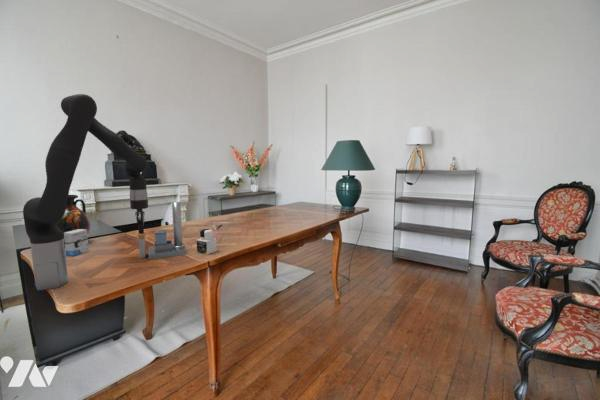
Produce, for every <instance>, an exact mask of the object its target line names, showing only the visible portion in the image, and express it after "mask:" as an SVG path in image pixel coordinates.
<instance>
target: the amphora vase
mask: <svg viewBox="0 0 600 400" xmlns="http://www.w3.org/2000/svg"><path fill="white" fill-rule="evenodd" d="M78 198H79V196H78V195H77V194H68V200H67V206H66V210H65V213H64V215H63V217H62V218H61V219H60V220H59V221H57V222H56V224H57V226H58V228H59V229H60V230H61V231H62V232H63V236H64V233H65V232H69V231H73V230H77V229H85V230H87V234H88V235H89V233H90V231H91V221H90V219H89V218H88V216H87V209H86V208H87V207H86V203H85V202H84V200H83V199H80V198H79V199H78ZM79 202H80V204H81V206H82V209H81V208H79V207H78V206H77V203H79ZM64 246H65V240H64Z"/></svg>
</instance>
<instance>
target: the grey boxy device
mask: <svg viewBox="0 0 600 400" xmlns="http://www.w3.org/2000/svg"><path fill="white" fill-rule="evenodd" d="M199 236H200V237H199V238H198V239H196V253H197V254H200V253H201V254H202V255H205V256H206V255H207V256H208V255H210V253H211V254H213V253H216V252H217V251H218V250H217V249H218V248H217V247H218V246H217V238H216V237H213V230H212V229H211V228H204V229H201V230H200V231H199Z"/></svg>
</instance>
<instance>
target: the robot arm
mask: <svg viewBox="0 0 600 400" xmlns="http://www.w3.org/2000/svg"><path fill="white" fill-rule="evenodd" d="M97 107H98V106H97V102H96V101H95V100H94V98H93V97H92V96H90V95H88V94H85V93H78V94H77V93H76V94H73V95H68V96H66V97H64V98H62V100H61V101H60V108H61V111H63V113H64V114H65V115H66V116H67V119H66V122H65V124H64V125H63V127H62V129H61V130H60V131H59V132H58V133H57V135H56V136H55V138H54V139H53V140H52V142H51V145H50V147H49V148H48V152H47V153H46V154H47V155H46V156H45V157H46V158H45V161H44V162H45V163H44V164H45V165H44V166H45V173H46V184H45V186H44V187H45V188H44V190H43V192H42V195H41V197H40V196H39V197H33V198H31V199H28V200H27V202H26V203H25V204H24V205H23V209H22V217H23V221H24V228H25V232H26V235H27V237H28V239H29V243H30V251H31V259H32V268H33V275H34V276H33V277H34V285H35V289H36V290H37V291H42V290H43V291H45V290H49V289H56V288H61V286H64V285H65V284H68V282H69V277H68V276H69V275H68V268H67V257H66V256H67V255H66V249H65V246H64V236H63V232H62V231H61V230H60V229H59V228H58V226H57V224H56V222H57V221H59V220H60V219H61V218H62V217H63V215H64V213H65V210H66V206H67V200H68V195H70V189H71V186H72V182H73V179H74V176H75V173H76V170H77V167H78V165H79V161H80V158H81V156H82V151H83V149H84V145H85V141H86V139H87V136H88V132H89V133H90V134H91V135H93V136H94V137H95V138H97V140H99V141H100V142H101V143H102V144H103V145H104V146H105V147H106V148H107V149H109V151H111V152H112V153H113V154H114V156H116V157H117V158H119V159H121V160H124V161H125V163H124V168H125V169H124V170H125V173H126V176H127V178H128V182H129V205H130V209H132V210H136V211H135V213H134V216H135V219H136V223H137V225H136V226H137V228H138V230H137V231H138V233H139V234H143V233H145V230H144V229H145V228H144V227H145V215H146V213H145V211H144V210H143V209H147V208H149V197H148V191H147V180H146V178H145V177H143V176H142V173H144V172H146V171H147V170H148V168H149V164H148V161H147V160H146V158H145V157H144V156H142V154H140V153H139V152H137V151H136V150H134V149H133V148H132V147H130V145H129V144H128V143H127V142H126V141H125V140H124V139H123V138H122V137H121V136H120V135H119V134H117V133H116V132H114V131H113V130H111V129H110V128H108V127H106V126H105V125H103V124H102V123H101V122H100V121H98V120H97V119H96V117H95V116H96V115H97V111H98V108H97Z"/></svg>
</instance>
